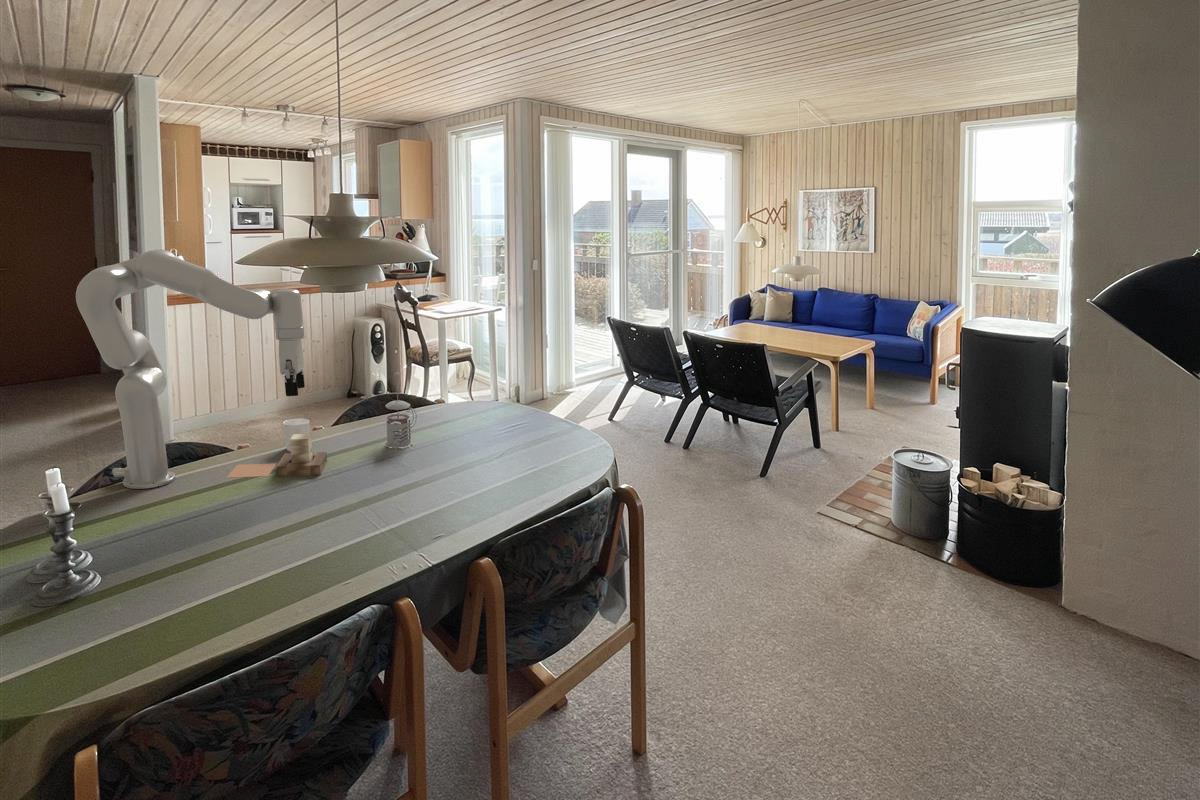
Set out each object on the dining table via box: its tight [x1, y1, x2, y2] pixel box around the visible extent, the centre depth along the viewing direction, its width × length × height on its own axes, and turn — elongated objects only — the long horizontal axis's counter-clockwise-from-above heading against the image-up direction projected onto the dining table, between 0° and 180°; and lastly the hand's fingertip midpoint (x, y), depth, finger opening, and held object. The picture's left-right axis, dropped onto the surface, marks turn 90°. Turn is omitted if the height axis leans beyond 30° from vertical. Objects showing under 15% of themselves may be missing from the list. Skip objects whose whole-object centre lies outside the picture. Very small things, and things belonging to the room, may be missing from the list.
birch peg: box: [290, 433, 313, 463], centre depth 214 cm, size 5×5×10 cm
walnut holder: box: [275, 451, 328, 477], centre depth 215 cm, size 12×12×4 cm
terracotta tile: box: [226, 462, 277, 479], centre depth 213 cm, size 11×11×1 cm
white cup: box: [282, 417, 311, 452], centre depth 232 cm, size 8×8×10 cm
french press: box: [384, 371, 418, 448], centre depth 242 cm, size 10×12×25 cm
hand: (295, 391), depth 209 cm, fingers open, 9 cm apart
